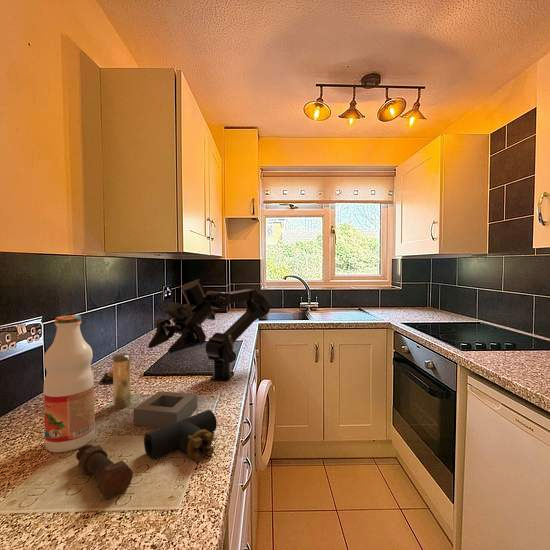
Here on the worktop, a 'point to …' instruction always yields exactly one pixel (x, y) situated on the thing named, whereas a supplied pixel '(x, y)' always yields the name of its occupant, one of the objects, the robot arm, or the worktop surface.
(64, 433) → the fruit juice
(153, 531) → the worktop surface
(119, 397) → the brown round cylinder
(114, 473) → the bolt
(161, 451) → the pipe connector
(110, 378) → the bread roll
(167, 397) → the docking block
